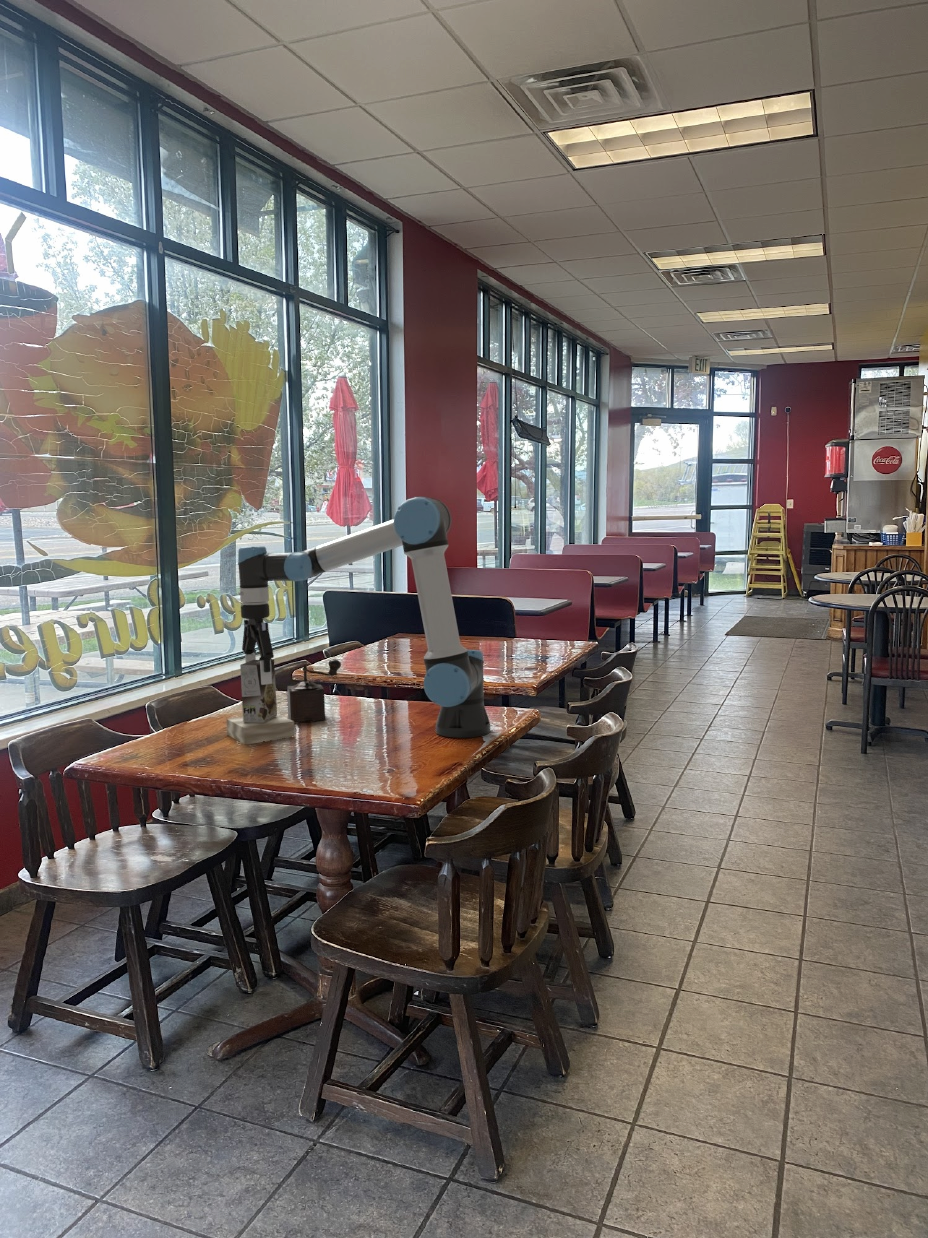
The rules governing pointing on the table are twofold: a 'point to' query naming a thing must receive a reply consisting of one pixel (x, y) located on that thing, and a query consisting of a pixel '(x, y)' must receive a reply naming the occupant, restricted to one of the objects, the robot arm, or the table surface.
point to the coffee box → (257, 693)
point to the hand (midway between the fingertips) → (258, 680)
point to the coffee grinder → (309, 696)
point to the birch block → (260, 729)
